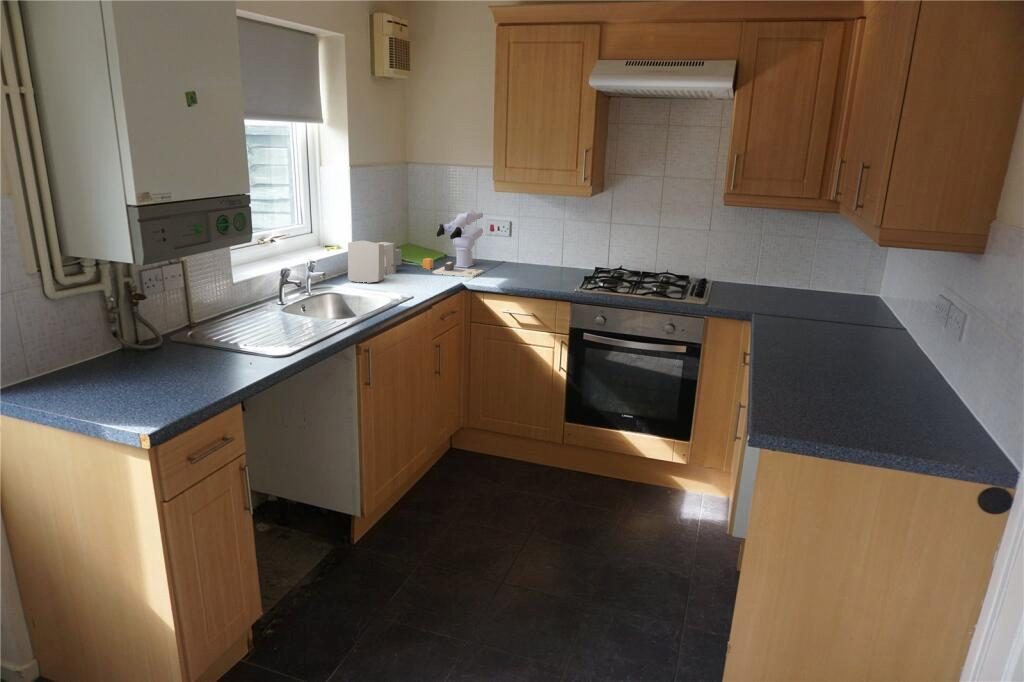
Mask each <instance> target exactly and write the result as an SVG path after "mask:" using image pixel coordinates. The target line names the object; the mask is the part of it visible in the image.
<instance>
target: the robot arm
mask: <svg viewBox="0 0 1024 682" xmlns="http://www.w3.org/2000/svg"><path fill="white" fill-rule="evenodd" d="M482 217H483V213H482V212H477V211H476V212H475V211H473V210H469V211H466V212H460V213H458V214H457V216H456V217H455V219H454V220H453V221H450V222H449V223H447V224H442V223H439V225H438V228H437V229H438V231H436V237H437V238H438V237H441V236H443V235H446V234H445V232H446V233H447V234H448V235H449V236H450V237H449V239H450V240H452V244H453V247H454V249H455V250H456V264H454V267H455V268H465V269H469V268H470V267H472V266H474V265H475V264H474V263H473V252H472V249H473V247H474V246H475V245H476V244H475V243H476V240H478V239H479V238H480V237H482V236H483V235H482V233H483V229H482V228H478V227H477V226H476V227H474V228H473V229H471V230H469V231H468V232H467V233H466V229H465V228H464V227H465V226H467V225H468V226H469V225H470V226H471V224H472V223H474V222H475V223H476V220H477V219H480V218H482Z"/></svg>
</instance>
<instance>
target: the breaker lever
mask: <svg viewBox="0 0 1024 682" xmlns="http://www.w3.org/2000/svg"><path fill="white" fill-rule="evenodd" d="M454 265H455V262H452V261H448V262H446V263H444V266H445V270H452V269H454V267H455V266H454Z"/></svg>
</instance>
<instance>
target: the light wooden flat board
mask: <svg viewBox="0 0 1024 682" xmlns="http://www.w3.org/2000/svg"><path fill="white" fill-rule="evenodd" d="M482 272H483V273H484V270H483V269H477V268H473V269H472V268H465V267H455V266H454V269H452V270H445V265H444V266H442V267H439V268H437V269H435V270H432V274H433V273H434V274H433V275H442V274H443V276H452V275H455V276H454V277H461V276H464V277H463V278H471V277H473V278H475V277H477V276H479V275H481V274H483V273H482ZM480 273H481V274H480ZM478 274H479V275H478ZM476 275H477V276H476ZM474 276H475V277H474Z"/></svg>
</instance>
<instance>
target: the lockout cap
mask: <svg viewBox="0 0 1024 682" xmlns="http://www.w3.org/2000/svg"><path fill="white" fill-rule="evenodd" d="M423 268H426V269H425V270H431V268H432V269H434V258H429V257H426V258H423V259H422V269H423Z"/></svg>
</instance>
